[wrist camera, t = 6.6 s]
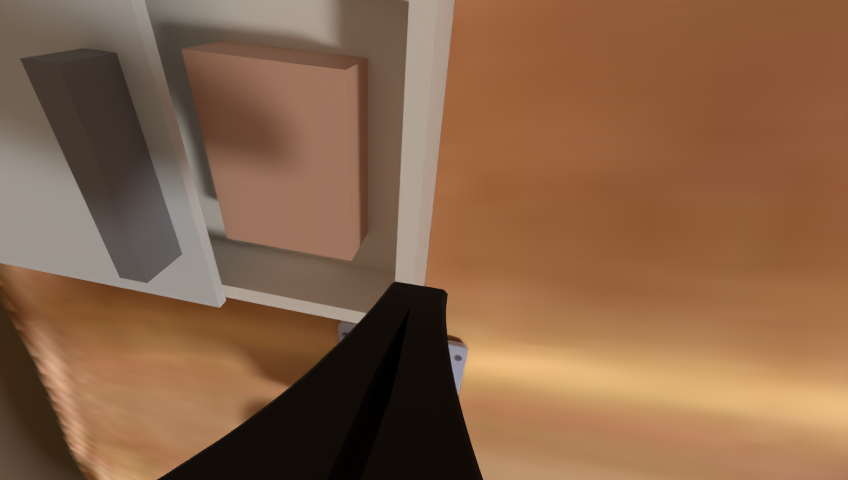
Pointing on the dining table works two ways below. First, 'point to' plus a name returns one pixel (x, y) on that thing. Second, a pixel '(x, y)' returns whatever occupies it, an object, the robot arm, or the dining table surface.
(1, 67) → the lid
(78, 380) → the dining table surface
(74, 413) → the dining table surface
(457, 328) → the dining table surface
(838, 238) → the dining table surface
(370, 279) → the box
